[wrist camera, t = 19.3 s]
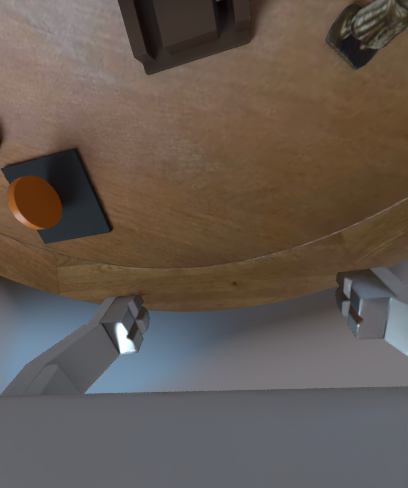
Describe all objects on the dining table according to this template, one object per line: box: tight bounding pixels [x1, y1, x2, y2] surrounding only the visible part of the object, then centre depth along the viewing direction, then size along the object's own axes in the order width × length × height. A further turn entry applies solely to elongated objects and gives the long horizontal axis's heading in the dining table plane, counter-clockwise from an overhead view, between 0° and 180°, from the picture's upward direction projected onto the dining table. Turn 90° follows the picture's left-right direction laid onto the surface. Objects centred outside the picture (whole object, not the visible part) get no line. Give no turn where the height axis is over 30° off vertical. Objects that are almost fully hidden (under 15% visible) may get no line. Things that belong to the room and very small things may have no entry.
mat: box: [1, 149, 112, 244], centre depth 39 cm, size 14×14×1 cm
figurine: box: [326, 0, 408, 70], centre depth 20 cm, size 7×4×15 cm, turn 54°
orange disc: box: [7, 176, 62, 229], centre depth 35 cm, size 8×1×8 cm, turn 12°
